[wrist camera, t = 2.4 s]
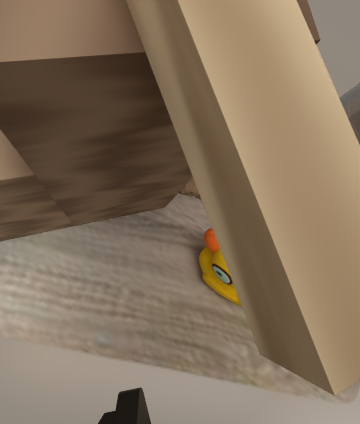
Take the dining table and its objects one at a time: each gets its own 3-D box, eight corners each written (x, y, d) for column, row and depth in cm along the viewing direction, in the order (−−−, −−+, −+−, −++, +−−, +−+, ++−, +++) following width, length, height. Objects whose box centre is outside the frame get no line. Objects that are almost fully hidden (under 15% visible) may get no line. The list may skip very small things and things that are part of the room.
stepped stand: (146, 132, 43) (241, -198, 13) (164, 207, 42) (320, 39, 11) (-48, 158, 37) (-775, -363, 6) (-33, 248, 36) (-868, 122, 5)
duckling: (174, 250, 41) (194, 244, 32) (202, 224, 43) (230, 212, 33) (228, 314, 41) (265, 328, 32) (255, 287, 43) (297, 292, 33)
